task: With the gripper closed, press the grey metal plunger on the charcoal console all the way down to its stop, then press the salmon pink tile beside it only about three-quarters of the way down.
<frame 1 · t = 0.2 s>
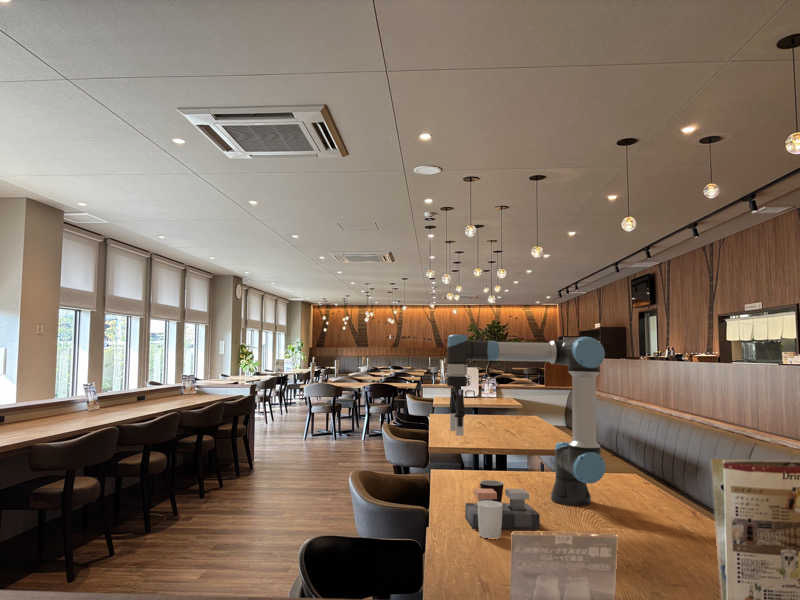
hand: (456, 433, 208), 28 cm above the table, fingers open, 13 cm apart
console: (501, 523, 189), on the table
white cup: (489, 537, 175), on the table
grey plunger: (517, 500, 190), point 8 cm above the table, slide at 0.0 cm
coffee mug: (491, 510, 207), on the table
salmon pink tile: (485, 499, 189), point 8 cm above the table, slide at 0.0 cm
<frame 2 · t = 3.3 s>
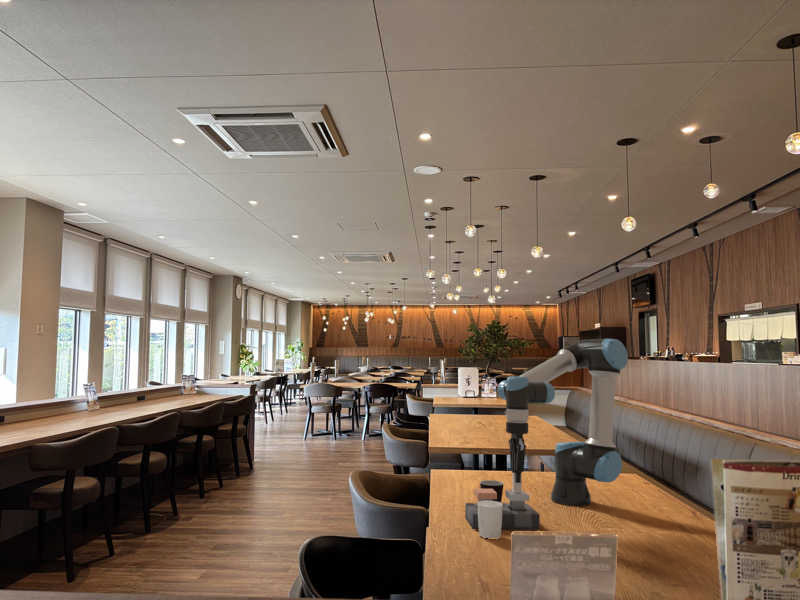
hand: (516, 491, 190), 11 cm above the table, fingers closed
grey plunger: (517, 501, 190), point 7 cm above the table, slide at 0.5 cm, touching gripper
everything else where it was.
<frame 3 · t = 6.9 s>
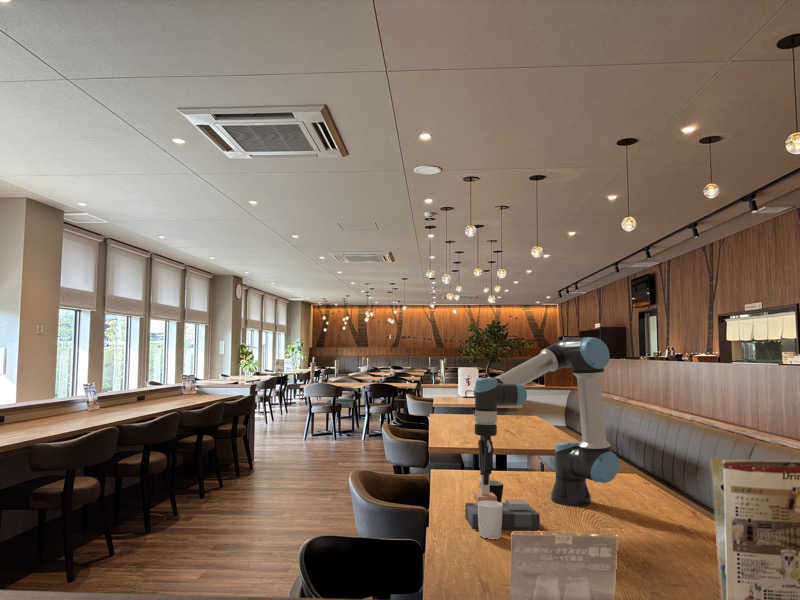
hand: (485, 493, 190), 10 cm above the table, fingers closed
grey plunger: (517, 510, 190), point 4 cm above the table, slide at 3.5 cm
salmon pink tile: (485, 503, 189), point 7 cm above the table, slide at 1.3 cm, touching gripper
everything else where it was.
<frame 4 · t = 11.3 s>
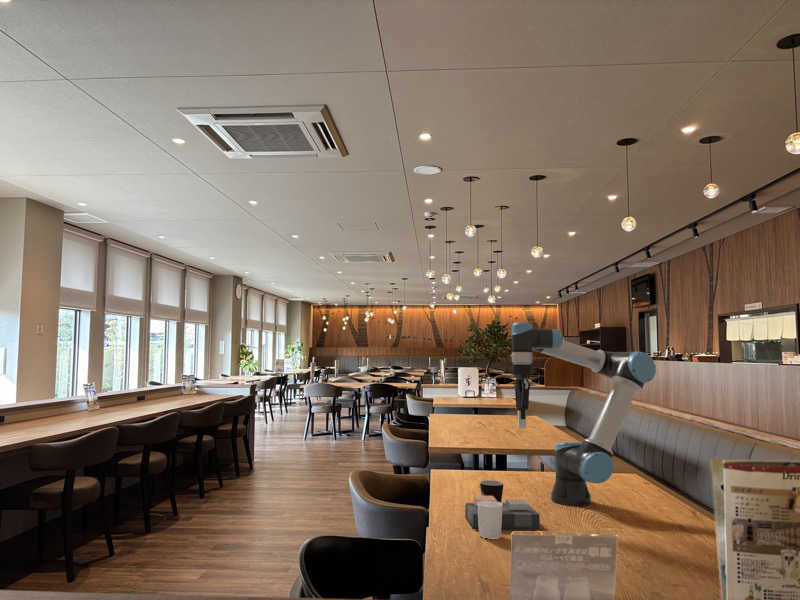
hand: (522, 428, 206), 30 cm above the table, fingers closed
salmon pink tile: (485, 507, 189), point 5 cm above the table, slide at 2.4 cm
everything else where it was.
at the end: grey plunger slide at 3.5 cm; salmon pink tile slide at 2.4 cm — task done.
